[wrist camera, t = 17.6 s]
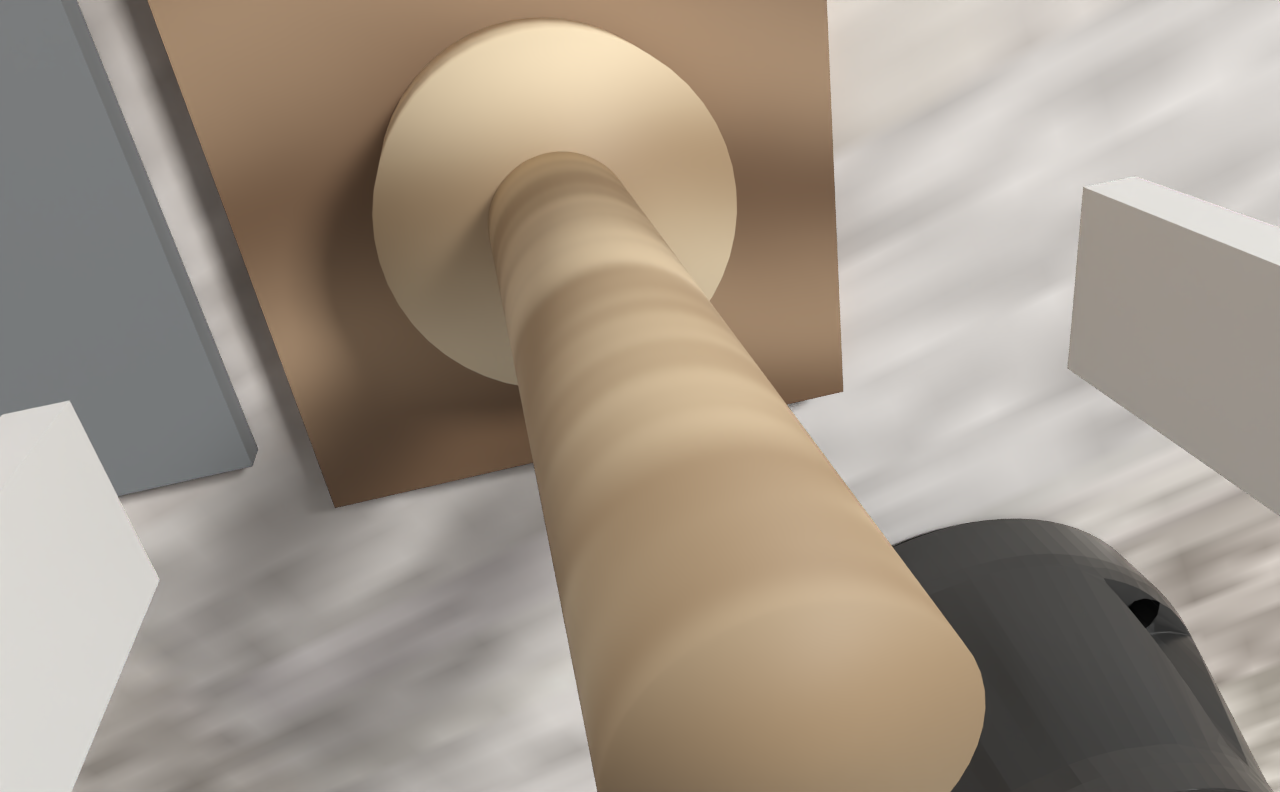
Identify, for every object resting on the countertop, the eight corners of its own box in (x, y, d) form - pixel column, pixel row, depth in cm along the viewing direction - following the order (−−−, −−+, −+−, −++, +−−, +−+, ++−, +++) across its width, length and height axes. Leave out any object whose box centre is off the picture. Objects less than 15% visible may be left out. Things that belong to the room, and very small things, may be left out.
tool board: (828, 375, 25) (843, 391, 24) (338, 485, 23) (334, 507, 22) (799, -197, 18) (818, -204, 18) (128, -93, 17) (112, -94, 16)
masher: (719, 306, 22) (1184, 919, 8) (427, 370, 21) (425, 1156, 8) (684, -12, 19) (1358, 167, 5) (335, 51, 18) (48, 453, 4)
